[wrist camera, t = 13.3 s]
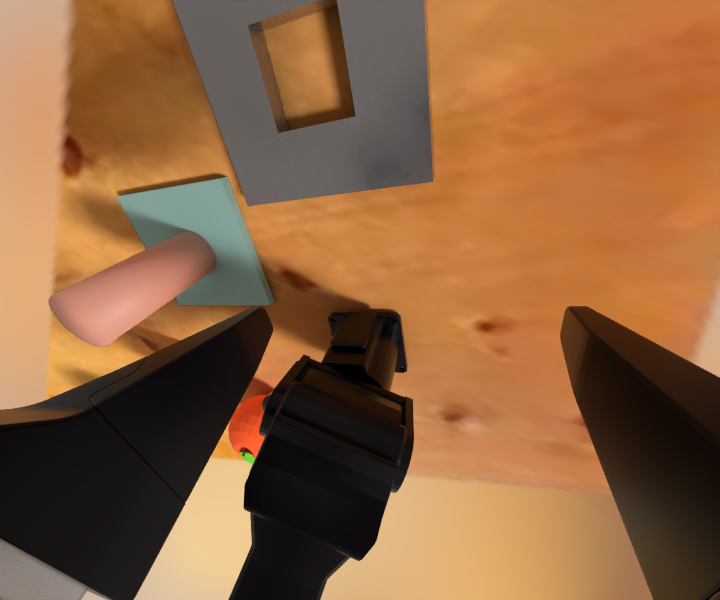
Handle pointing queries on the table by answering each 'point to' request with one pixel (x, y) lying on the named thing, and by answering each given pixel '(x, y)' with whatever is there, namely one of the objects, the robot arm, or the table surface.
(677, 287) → the table surface
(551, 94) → the table surface
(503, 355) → the table surface
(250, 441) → the clementine
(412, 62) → the grey square hole plate
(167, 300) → the pink rounded cylinder
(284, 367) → the table surface
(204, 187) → the rubber mat
